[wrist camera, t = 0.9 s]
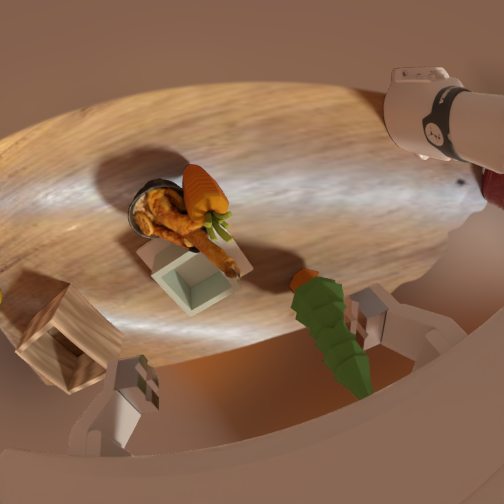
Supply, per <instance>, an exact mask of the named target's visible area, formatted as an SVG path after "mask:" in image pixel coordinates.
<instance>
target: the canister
mask: <svg viewBox="0 0 504 504" xmlns="http://www.w3.org/2000/svg"><path fill="white" fill-rule="evenodd" d="M482 191H483V196H484V198H485V200H487V201H488V202H489V203H490V204H492V205H495V206H497V207H499V208H501V209H503V210H504V174H499V173H496V172H494V171H492V170H489V169H487V168H486V169H485V172H484V176H483V183H482Z"/></svg>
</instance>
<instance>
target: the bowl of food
mask: <svg viewBox="0 0 504 504" xmlns="http://www.w3.org/2000/svg"><path fill="white" fill-rule="evenodd" d="M128 221H129V224H130V226H131V228H132V229H133V230H134V231H135V232H136V233H137V234H139V235H141V236H143V237H146V238H151V239H160V238H164V239H165V240H168V241H171V243H172V244H176V245H179V246H182V247H184V248H185V249H187V250H188V251H190V252H193V253H200V252H201V253H202V254H204V255H205V256H206V257H207V258H208V259H209V260H210V261H211V263H212V264H214V265H215V266H216V268H218V269H220V270H221V271H222V272H224V273H225V276H226V277H228V278H231V279H239V278H240V277H241V276H242V272H241V270H240V269H239V267H238V266H237V264H236V262H235V261H234V260H233V258H232V257H229V256H228V255H227V254H226V253H225V251H224V250H223V249H222V248H221V247H219V246H218V245H216V244H215V243H213V242H212V241H211V240H210V239H209V237H208V236H209V234H208V231H207V227H205V226H203V225H201V224H198V223H195V222H194V221H193V220H191V219H190V217H189V216H188V212H187V209H186V206H185V202H184V189H182V188H180V187H179V186H178V185H177V184H175V183H174V182H172V181H169V180H162V179H156V180H151V181H149V182H148V183H147V184H145V186H144V187H143V188H142V189H141V190H139V192H138V193H137V194H136V196H135V197H134V200H133V202H132V203H131V205H130V207H129V211H128Z"/></svg>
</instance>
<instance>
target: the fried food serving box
mask: <svg viewBox="0 0 504 504" xmlns="http://www.w3.org/2000/svg"><path fill="white" fill-rule="evenodd" d="M53 326H55V327H56V328H57V329H58V330H59V331H60V332H61V333H62V334H63V335H65V336H66V337H67V338H68V339H69V340H70V341H71V342H73V343H74V344H75V345H76V346H77V347H79V348H80V349H81V350H82V351H83V352H85V353H83V354H82V355H80V356H78V357H76V356H75V355H74V354H72V353H71V352H70V351H69V350H68V349H66V348H65V347H64V346H63V345H62V344H61V343H59V342H58V341H57V340H56V339H55V338H54V337H53V336H51V335H50V334H49V333H48V332H47V331H48V330H49V329H50V328H51V327H53ZM122 339H123V334H122V333H121V332H120V331H119V330H118V329H117V328H115V327H114V326H113V325H112V324H111V323H110V322H109V321H108V320H107V319H106V318H104V317H103V316H102V315H101V314H100V313H99V312H98V311H97V310H96V309H95V308H94V307H93V306H92V305H91V304H90V303H89V302H88V301H87V300H86V299H85V298H84V297H83V296H82V295H81V294H80V293H79V292H78V291H77V290H76V289H75V288H74V287H73V286H72V285H71V284H69V285H68V286H67V287H66V288H65V289H64V290H63V291H61V292H60V293H59V294H58V295H57V296H56V297H55V298H53V299H52V300H51V301H50V302H49V303H48V304H47V305H46V306H45V307H44V308H42V309H41V310H40V311H39V312H38V313H37V314H36V315H35V316H34V317H33V318H32V319H31V320H30V322H29V324H28V326H27V328H26V329H25V331H24V333H23V335H22V337H21V339H20V342H19V344H18V346H17V348H16V350H15V353H17V354H18V355H19V356H20V357H21V358H22V359H23V360H25V361H26V362H27V363H28V364H29V365H30V366H32V367H33V368H34V369H35V370H37V371H38V372H39V373H40V374H42V375H43V376H44V377H45V378H47V379H48V380H49V381H51V382H52V383H53V384H55V385H56V386H58V387H59V388H60V389H62V390H63V391H65V392H66V393H68V394H69V395H70V394H72V393H74V392H76V391H78V390H81V389H83V388H85V387H87V386H90V385H92V384H94V383H96V382H98V381H100V380H102V379H104V378H105V375H106V369H107V364H108V362H109V361H110V360H114V359H119V355H120V350H121V344H122Z"/></svg>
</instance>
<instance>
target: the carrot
mask: <svg viewBox="0 0 504 504" xmlns="http://www.w3.org/2000/svg"><path fill="white" fill-rule="evenodd" d="M182 189H184V202H185V206H186V209H187V212H188V216H189V217H190V219H191V220H193V221H194V222H195V223H198V224H201V225H203V226H205V227H207V231H208V234H209V237H210V239H211V240H212V241H216V240H217V238H216V235H215V233H214V230H213V228H214V229H215V231H216V232H217V234H218V235H219V236H220V237H221V238H222V239H223V240H225V241H226V242H227V243H229V242H231V241H232V240H233V238H232V237H231V236H230V235H229V234H228V233H227V232H226V231H225V230H224V229H223V228H225V229H227V228H229V224H227V223H226V222H225V221H223V220H224V219H227V218H229V217H230V216H232V213H231V212H227V210H228V205H229V202H228V199H227V198H226V196H225V194H224V193H223V191H222V190H221V188H220V187H219V185H218V184H217V182H216V181H215V180H214V179H213V178H212V177H211V176H210V175H209V174H208V173H207V172H206V171H205V170H204V169H203V168H202V167H200V166H198V165H194V164H189V165H188V166H187V167H186V168H185V170H184V173H183V181H182ZM220 225H221V226H222V227H223V228H221V226H220ZM212 226H213V227H212Z"/></svg>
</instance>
